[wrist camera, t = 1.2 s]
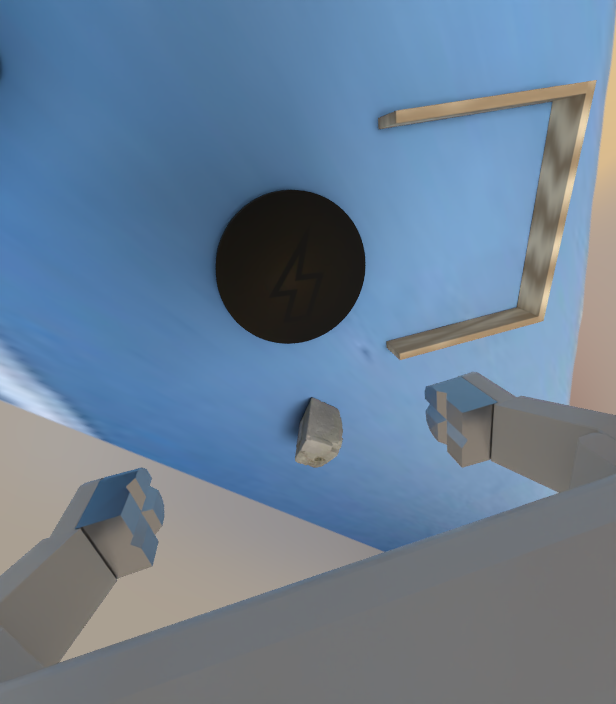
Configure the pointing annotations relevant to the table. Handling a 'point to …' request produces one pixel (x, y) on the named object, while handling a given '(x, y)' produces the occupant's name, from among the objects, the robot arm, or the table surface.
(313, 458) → the mineral specimen
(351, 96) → the table surface
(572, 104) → the box
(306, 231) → the wireless charger
